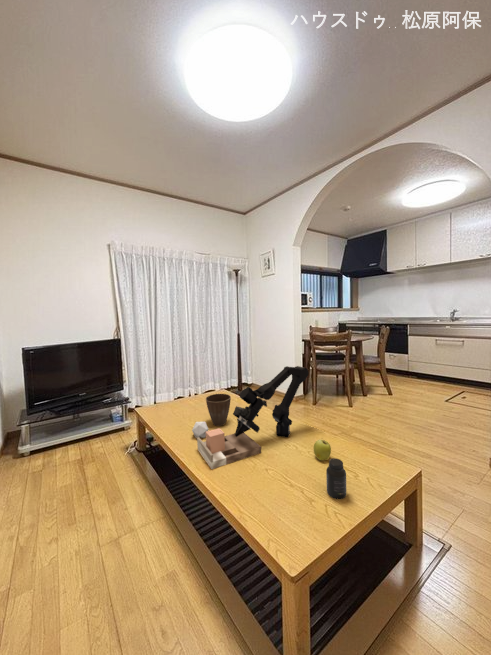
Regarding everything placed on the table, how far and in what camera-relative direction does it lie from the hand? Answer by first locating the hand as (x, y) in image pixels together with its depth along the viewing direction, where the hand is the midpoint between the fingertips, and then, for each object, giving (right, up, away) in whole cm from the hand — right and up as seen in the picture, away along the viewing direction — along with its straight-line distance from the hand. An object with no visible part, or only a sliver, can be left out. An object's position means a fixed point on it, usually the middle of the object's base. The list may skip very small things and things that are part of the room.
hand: (235, 436), depth 128 cm
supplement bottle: (+38, -7, -33) cm, 51 cm away
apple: (+40, -6, -10) cm, 41 cm away
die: (-19, -7, +15) cm, 25 cm away
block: (-9, -4, -5) cm, 11 cm away
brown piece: (-3, -7, -1) cm, 7 cm away
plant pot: (-11, -5, +31) cm, 33 cm away
